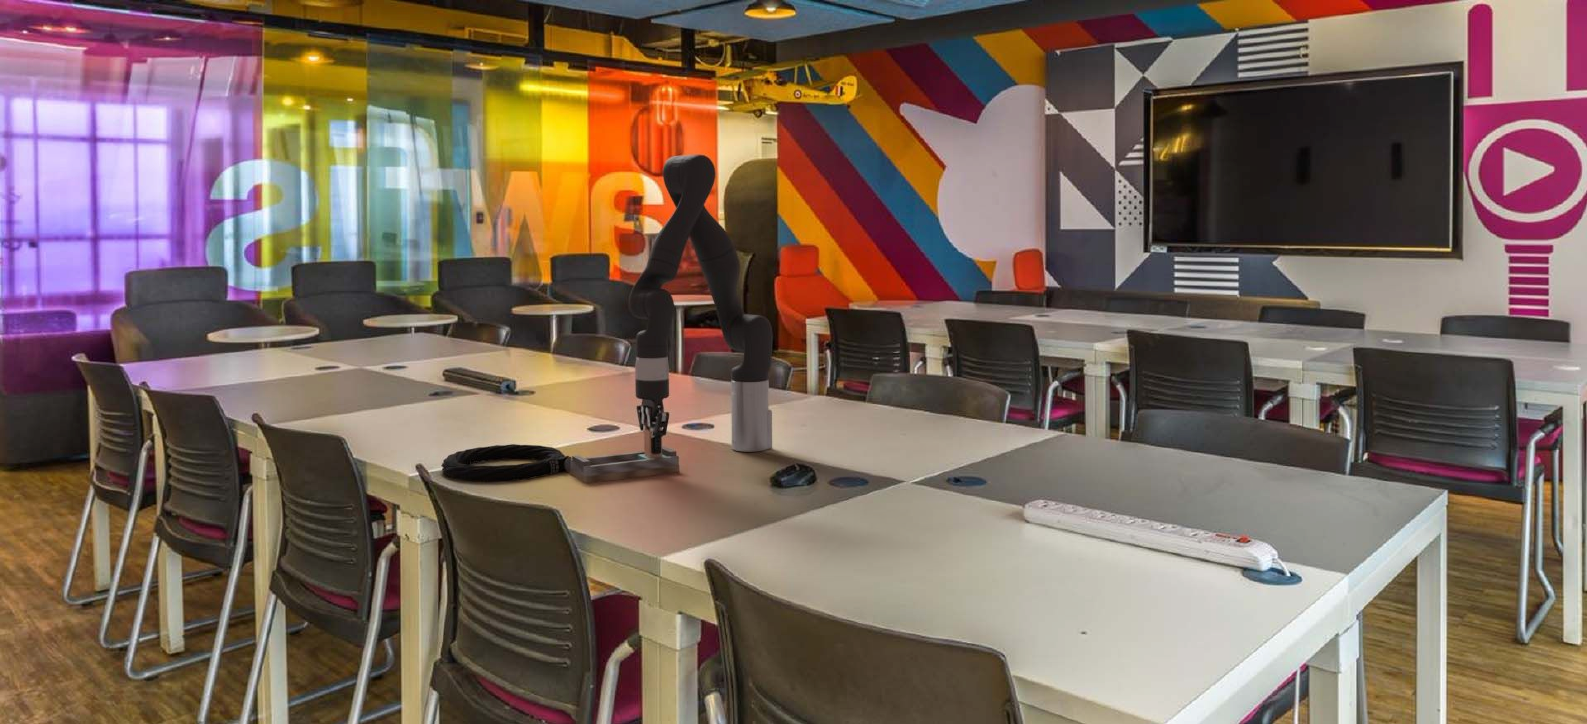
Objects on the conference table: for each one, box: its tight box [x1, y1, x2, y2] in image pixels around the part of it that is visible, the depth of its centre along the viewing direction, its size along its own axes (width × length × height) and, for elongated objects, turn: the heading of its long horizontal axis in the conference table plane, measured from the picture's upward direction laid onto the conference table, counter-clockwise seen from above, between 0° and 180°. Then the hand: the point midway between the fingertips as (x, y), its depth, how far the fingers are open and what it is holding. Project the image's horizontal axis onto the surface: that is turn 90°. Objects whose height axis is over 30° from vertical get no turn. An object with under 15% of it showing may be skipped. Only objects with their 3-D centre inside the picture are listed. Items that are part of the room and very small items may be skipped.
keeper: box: [638, 429, 667, 460], centre depth 260 cm, size 5×6×8 cm
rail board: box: [569, 445, 680, 484], centre depth 257 cm, size 22×10×4 cm, turn 120°
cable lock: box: [440, 443, 572, 482], centre depth 262 cm, size 28×4×30 cm
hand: (653, 451), depth 260 cm, fingers closed on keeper, 3 cm apart
